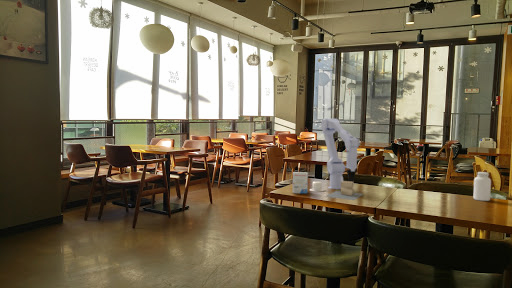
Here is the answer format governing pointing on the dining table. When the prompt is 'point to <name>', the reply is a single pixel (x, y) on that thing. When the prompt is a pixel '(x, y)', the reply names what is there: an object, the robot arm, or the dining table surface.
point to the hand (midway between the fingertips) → (350, 182)
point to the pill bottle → (482, 187)
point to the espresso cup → (317, 186)
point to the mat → (342, 196)
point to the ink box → (300, 182)
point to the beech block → (347, 187)
